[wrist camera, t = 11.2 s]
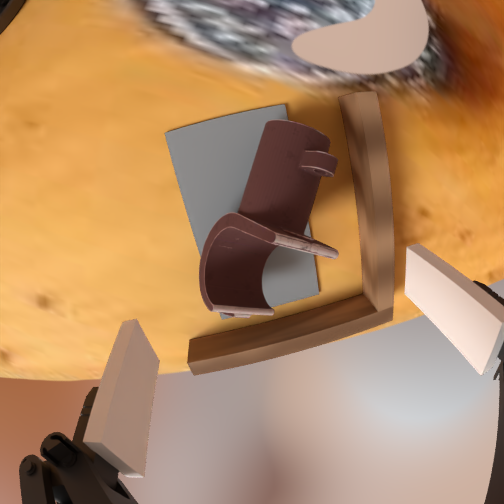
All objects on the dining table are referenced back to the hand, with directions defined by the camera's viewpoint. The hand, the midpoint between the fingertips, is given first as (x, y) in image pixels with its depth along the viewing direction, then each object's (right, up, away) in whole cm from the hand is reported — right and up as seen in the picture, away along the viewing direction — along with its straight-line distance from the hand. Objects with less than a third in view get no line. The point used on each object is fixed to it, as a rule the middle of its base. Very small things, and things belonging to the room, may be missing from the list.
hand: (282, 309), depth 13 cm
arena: (0, +4, +16) cm, 16 cm away
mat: (-2, +6, +15) cm, 16 cm away
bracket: (0, +6, +15) cm, 16 cm away
